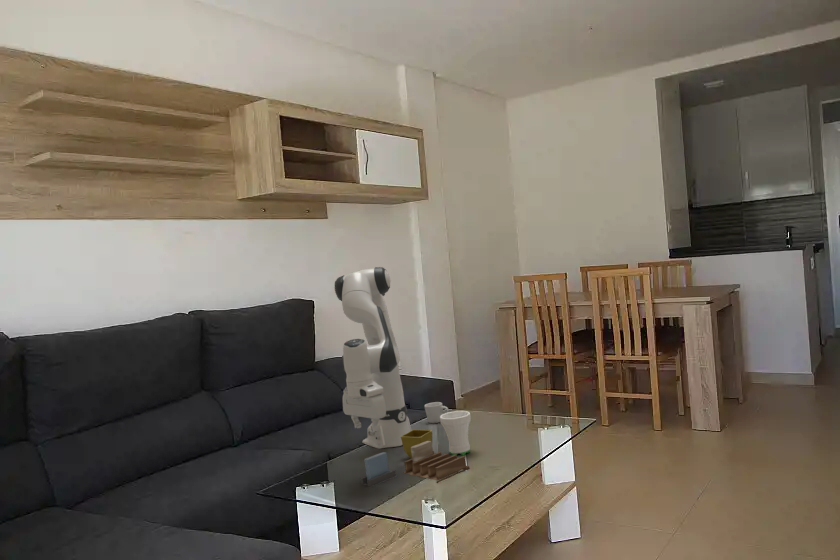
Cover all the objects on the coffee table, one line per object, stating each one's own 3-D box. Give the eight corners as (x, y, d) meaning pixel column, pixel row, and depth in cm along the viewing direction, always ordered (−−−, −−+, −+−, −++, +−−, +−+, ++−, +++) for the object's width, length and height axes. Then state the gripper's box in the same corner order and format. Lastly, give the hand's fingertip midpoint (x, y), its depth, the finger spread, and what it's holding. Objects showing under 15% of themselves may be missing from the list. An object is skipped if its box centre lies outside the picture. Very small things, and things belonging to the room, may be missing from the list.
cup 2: (473, 456, 238) (468, 417, 238) (442, 459, 241) (437, 419, 240) (476, 447, 249) (472, 409, 249) (447, 449, 252) (442, 412, 251)
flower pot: (423, 461, 240) (420, 436, 240) (403, 460, 245) (399, 436, 245) (435, 454, 248) (432, 430, 248) (416, 453, 252) (412, 429, 252)
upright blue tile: (367, 482, 222) (364, 459, 222) (386, 475, 228) (382, 452, 228) (371, 483, 221) (367, 459, 221) (389, 476, 226) (386, 452, 226)
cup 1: (453, 419, 298) (450, 401, 297) (446, 424, 290) (444, 405, 290) (430, 419, 302) (428, 402, 302) (423, 424, 295) (421, 406, 295)
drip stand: (359, 485, 223) (358, 477, 223) (385, 475, 231) (383, 467, 231) (372, 489, 218) (371, 481, 218) (398, 478, 226) (397, 470, 225)
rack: (403, 475, 228) (399, 449, 228) (434, 461, 238) (431, 437, 238) (437, 482, 216) (434, 455, 216) (469, 468, 226) (466, 442, 226)
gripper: (335, 388, 230) (341, 428, 230) (370, 392, 214) (376, 435, 214) (350, 384, 234) (356, 424, 234) (386, 388, 218) (392, 430, 218)
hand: (366, 429), depth 224 cm, fingers open, 8 cm apart
